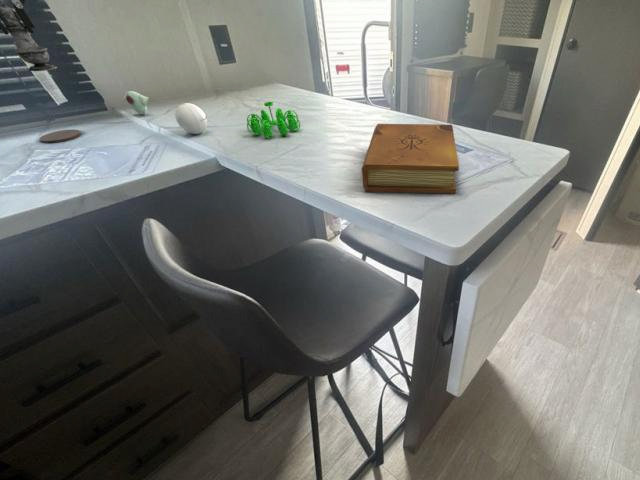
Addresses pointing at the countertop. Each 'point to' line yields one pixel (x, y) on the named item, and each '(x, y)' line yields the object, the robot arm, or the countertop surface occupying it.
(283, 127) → the chandelier
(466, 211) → the countertop surface
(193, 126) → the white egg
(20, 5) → the robot arm
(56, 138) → the coaster
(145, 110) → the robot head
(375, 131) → the diary
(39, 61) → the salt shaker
